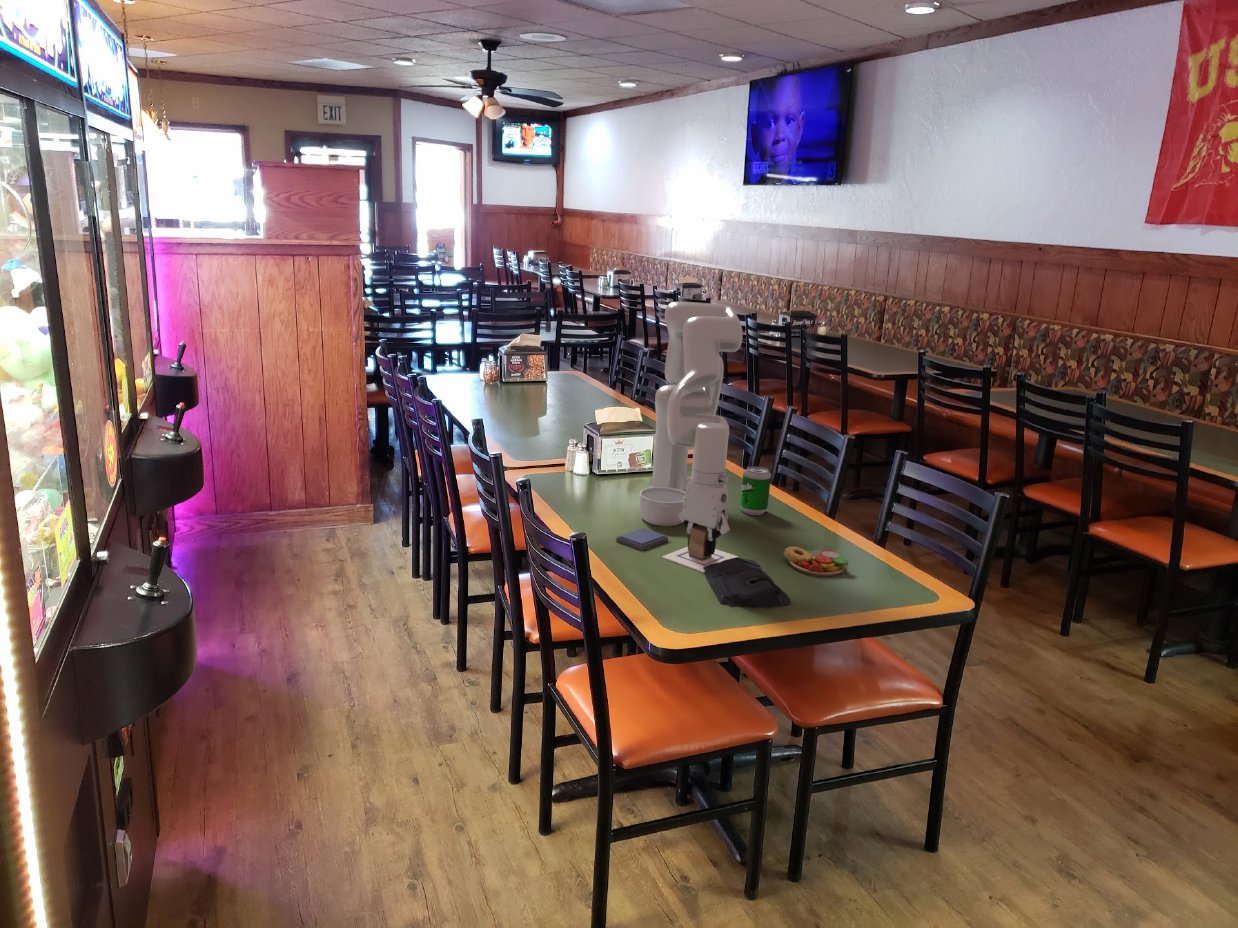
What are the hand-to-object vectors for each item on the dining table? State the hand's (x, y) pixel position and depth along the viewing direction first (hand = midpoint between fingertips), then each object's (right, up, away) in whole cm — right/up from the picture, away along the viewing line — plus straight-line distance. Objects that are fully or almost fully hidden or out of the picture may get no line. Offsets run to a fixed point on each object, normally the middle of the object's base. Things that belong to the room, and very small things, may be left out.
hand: (700, 551), depth 206 cm
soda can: (+18, +7, +37) cm, 41 cm away
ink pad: (-13, +2, +9) cm, 16 cm away
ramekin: (-8, +6, +26) cm, 27 cm away
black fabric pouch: (+8, -7, -14) cm, 18 cm away
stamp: (0, -1, 0) cm, 1 cm away
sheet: (0, -2, 0) cm, 2 cm away
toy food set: (+27, -4, 0) cm, 27 cm away
